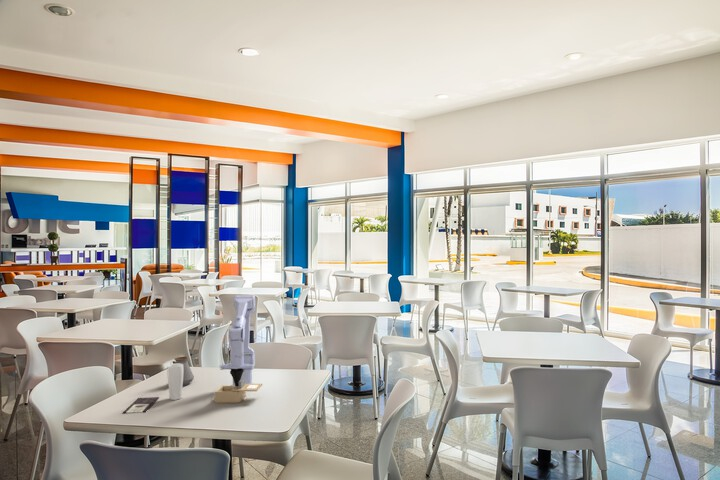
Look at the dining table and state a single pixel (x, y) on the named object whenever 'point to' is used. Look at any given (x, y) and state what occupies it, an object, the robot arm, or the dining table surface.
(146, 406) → the chocolate bar
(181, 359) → the coffee pot
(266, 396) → the dining table surface
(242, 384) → the sliding lid
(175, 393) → the drinking glass
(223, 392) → the wooden box
